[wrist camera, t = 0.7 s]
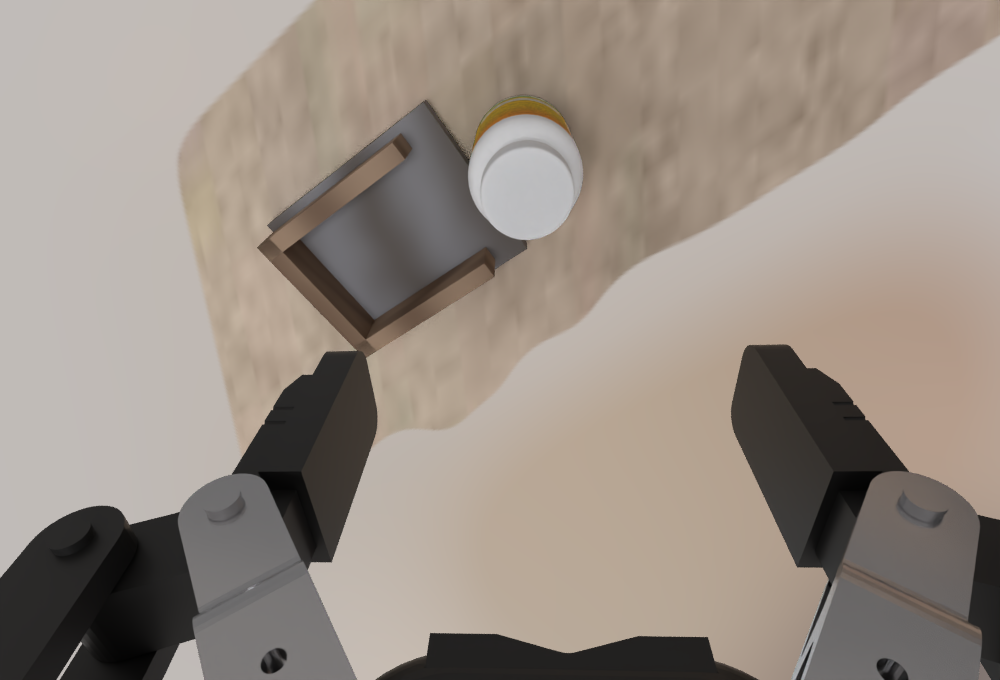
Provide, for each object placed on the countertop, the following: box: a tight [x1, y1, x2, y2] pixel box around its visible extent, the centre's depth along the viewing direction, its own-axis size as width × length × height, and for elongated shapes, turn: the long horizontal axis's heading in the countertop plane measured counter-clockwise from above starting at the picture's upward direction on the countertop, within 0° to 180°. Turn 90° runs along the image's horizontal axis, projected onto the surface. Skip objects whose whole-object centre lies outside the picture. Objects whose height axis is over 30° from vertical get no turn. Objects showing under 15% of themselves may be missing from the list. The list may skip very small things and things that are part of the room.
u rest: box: [257, 100, 527, 357], centre depth 33 cm, size 12×10×4 cm
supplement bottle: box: [468, 95, 583, 240], centre depth 27 cm, size 5×5×10 cm
